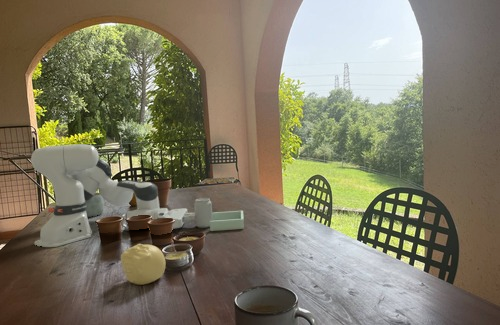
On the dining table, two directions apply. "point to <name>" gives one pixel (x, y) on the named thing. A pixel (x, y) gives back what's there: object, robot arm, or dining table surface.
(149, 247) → the pomelo
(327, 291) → the dining table surface
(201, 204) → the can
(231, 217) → the frame
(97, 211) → the planter
